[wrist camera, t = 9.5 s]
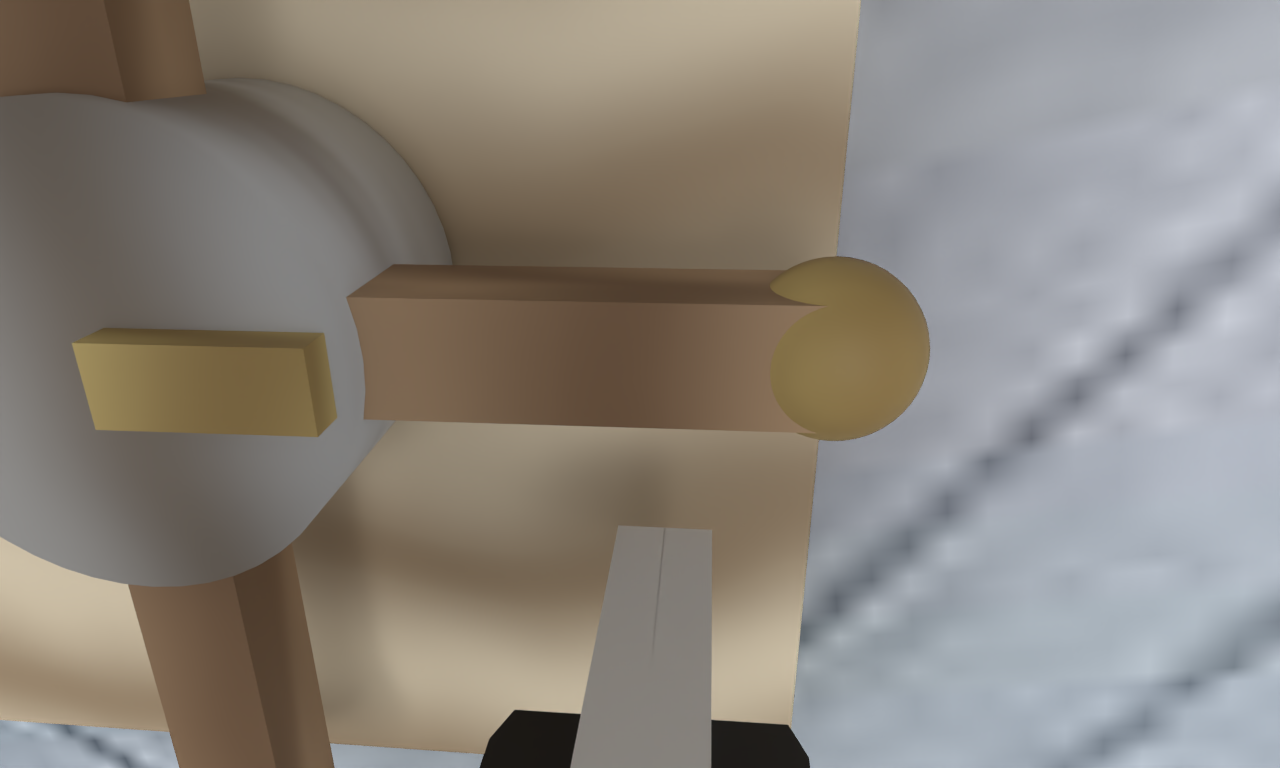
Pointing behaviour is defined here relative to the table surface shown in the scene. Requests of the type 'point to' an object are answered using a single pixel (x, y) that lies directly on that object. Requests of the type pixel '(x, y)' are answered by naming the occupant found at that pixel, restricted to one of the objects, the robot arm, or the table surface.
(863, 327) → the capstan
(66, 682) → the stand
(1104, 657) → the table surface
